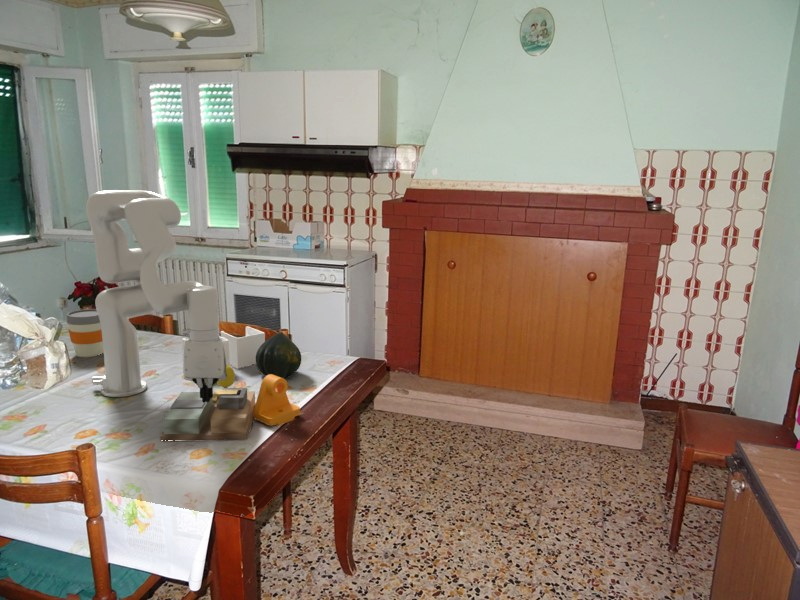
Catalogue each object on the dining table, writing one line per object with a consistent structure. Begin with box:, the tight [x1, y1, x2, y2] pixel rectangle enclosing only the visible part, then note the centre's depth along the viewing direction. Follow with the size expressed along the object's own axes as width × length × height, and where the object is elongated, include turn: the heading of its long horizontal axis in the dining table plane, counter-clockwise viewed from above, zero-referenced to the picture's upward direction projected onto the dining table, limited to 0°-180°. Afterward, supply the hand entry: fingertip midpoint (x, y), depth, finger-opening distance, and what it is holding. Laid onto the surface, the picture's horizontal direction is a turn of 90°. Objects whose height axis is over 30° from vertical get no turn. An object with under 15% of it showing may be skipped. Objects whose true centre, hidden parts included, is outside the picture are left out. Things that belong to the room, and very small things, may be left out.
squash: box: [255, 331, 302, 379], centre depth 187 cm, size 14×15×15 cm
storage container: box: [181, 326, 266, 369], centre depth 194 cm, size 25×11×11 cm, turn 136°
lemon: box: [216, 365, 236, 389], centre depth 174 cm, size 6×6×8 cm
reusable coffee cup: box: [66, 308, 104, 358], centre depth 201 cm, size 13×12×15 cm
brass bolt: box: [212, 389, 238, 405], centre depth 149 cm, size 6×5×3 cm
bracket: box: [254, 374, 301, 427], centre depth 154 cm, size 11×7×12 cm, turn 141°
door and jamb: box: [159, 387, 256, 442], centre depth 150 cm, size 21×20×9 cm
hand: (206, 400), depth 149 cm, fingers closed
